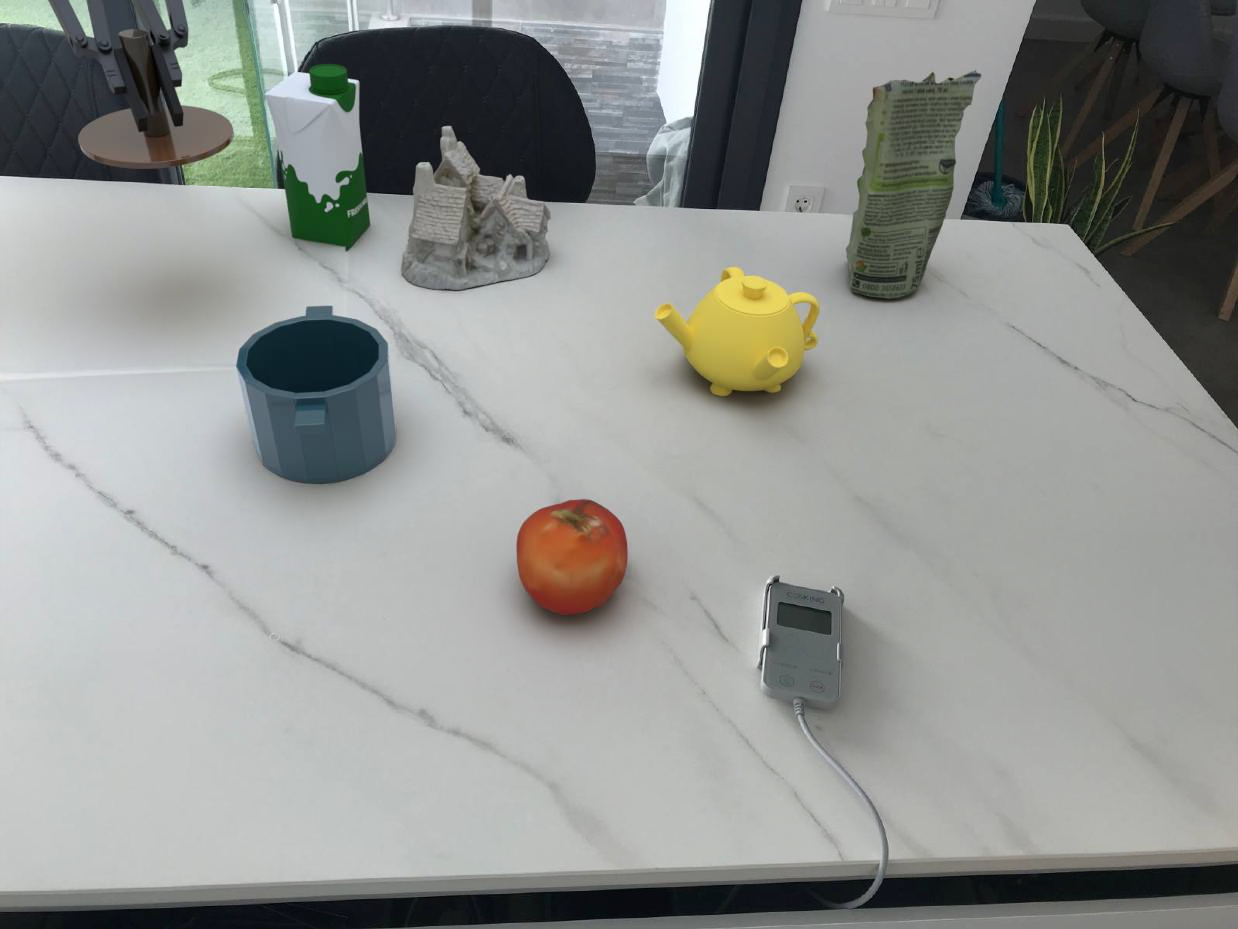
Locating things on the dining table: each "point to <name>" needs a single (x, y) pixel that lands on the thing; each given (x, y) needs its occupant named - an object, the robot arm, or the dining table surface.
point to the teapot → (744, 333)
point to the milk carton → (321, 154)
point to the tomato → (571, 556)
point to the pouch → (905, 181)
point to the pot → (318, 396)
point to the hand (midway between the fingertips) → (161, 121)
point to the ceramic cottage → (471, 225)
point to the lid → (153, 122)
